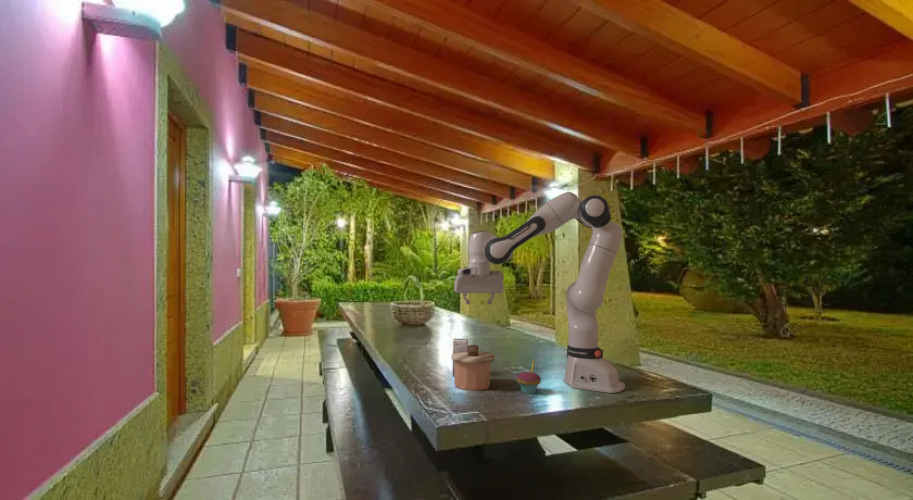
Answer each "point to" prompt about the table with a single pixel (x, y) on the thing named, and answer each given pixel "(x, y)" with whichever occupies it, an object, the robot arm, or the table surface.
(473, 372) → the pot
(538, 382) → the cupcake
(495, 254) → the robot arm
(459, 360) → the lid
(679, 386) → the table surface
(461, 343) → the syrup box
